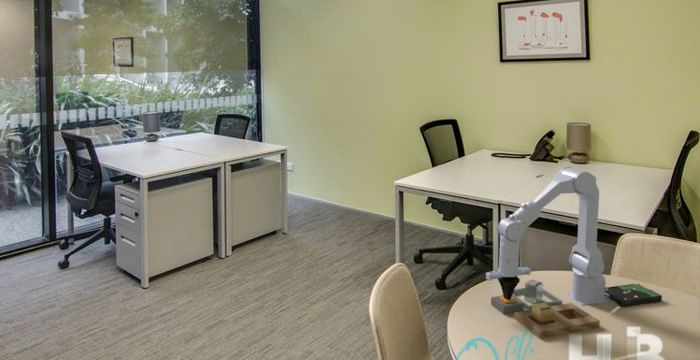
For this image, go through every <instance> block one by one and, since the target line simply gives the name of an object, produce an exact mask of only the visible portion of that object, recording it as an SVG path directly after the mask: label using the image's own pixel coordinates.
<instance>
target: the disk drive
mask: <svg viewBox="0 0 700 360" xmlns="http://www.w3.org/2000/svg"><path fill="white" fill-rule="evenodd" d="M605 298H607V299H609V300H611V301H612V302H614V303H616V304H617V305H618V306H619V307H620V308H628V307H629V308H630V307H635V306H641V305H642V306H643V305H649V304H656V303H662V299H663V296H662V294H660V293H657V292H656V291H654V290H652V289H649V288H647V287H645V286H643V285H641V284H640V283H630V284H624V285H623V284H622V285H615V286H608V287H606V286H605Z"/></svg>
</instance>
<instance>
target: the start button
mask: <svg viewBox="0 0 700 360" xmlns="http://www.w3.org/2000/svg"><path fill="white" fill-rule="evenodd" d="M499 296H500V297H499V300H500V301H502V302H503V303H504V304H509V303H515V302H516V300H515V299H514V298H512V297H511V299H510V300H507V299H505V298H504V296H502V295H499Z"/></svg>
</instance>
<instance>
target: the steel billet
mask: <svg viewBox="0 0 700 360" xmlns="http://www.w3.org/2000/svg"><path fill="white" fill-rule="evenodd" d="M524 288H525V294H524V299H523V300H524V301H526V302H529V303H532V304H539V303H541V302H542V301H543V297H544V295H543V289H544V282H541V281H538V280H536V279H530V280H528V281H527V282H525V283H524Z"/></svg>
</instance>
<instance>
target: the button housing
mask: <svg viewBox="0 0 700 360" xmlns="http://www.w3.org/2000/svg"><path fill="white" fill-rule="evenodd" d="M500 296H503V294H502V295H497V296H496V295H495V296H491V297H490V306H492V307H493V308H494V309H496V310H497V311H499V312H500V313H501V314H502V315H509V314H513V313H514V314H515V312H521V311H524V308H523V306H524V303H522V302H521V301H520V300H518V299H517V298H515V297H514V296H513V295H512V298H514V299H515V300H516V302H515V303H509V304H504V303H503V302H502V301H500V300H499V297H500Z"/></svg>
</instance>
